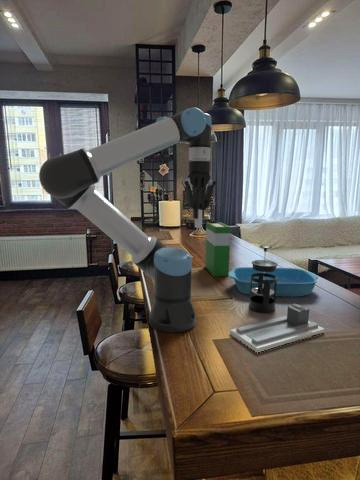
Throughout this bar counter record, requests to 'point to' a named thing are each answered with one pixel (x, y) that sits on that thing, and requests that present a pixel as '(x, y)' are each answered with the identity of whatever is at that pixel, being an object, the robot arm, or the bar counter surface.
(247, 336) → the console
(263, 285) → the french press
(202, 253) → the bar counter surface
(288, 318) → the fader tab
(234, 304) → the bar counter surface
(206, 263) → the hardback book
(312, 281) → the casserole dish
